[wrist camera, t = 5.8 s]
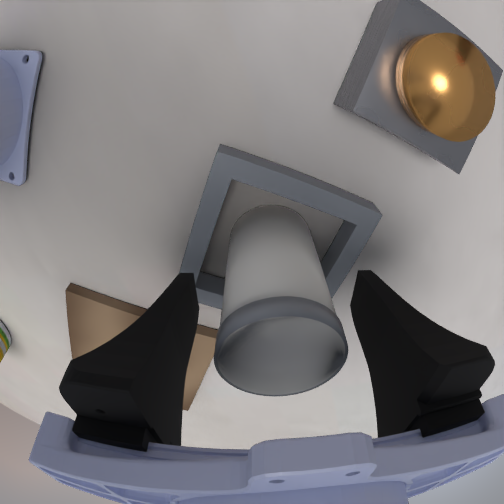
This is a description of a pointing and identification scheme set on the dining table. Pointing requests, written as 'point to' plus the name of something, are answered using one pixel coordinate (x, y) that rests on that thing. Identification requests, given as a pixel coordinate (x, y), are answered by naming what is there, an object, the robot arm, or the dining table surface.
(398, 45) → the plunger base
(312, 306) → the cylinder
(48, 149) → the dining table surface
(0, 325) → the supplement bottle
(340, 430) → the dining table surface
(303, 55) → the dining table surface
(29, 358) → the dining table surface
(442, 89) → the plunger
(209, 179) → the collar
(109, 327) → the pad
